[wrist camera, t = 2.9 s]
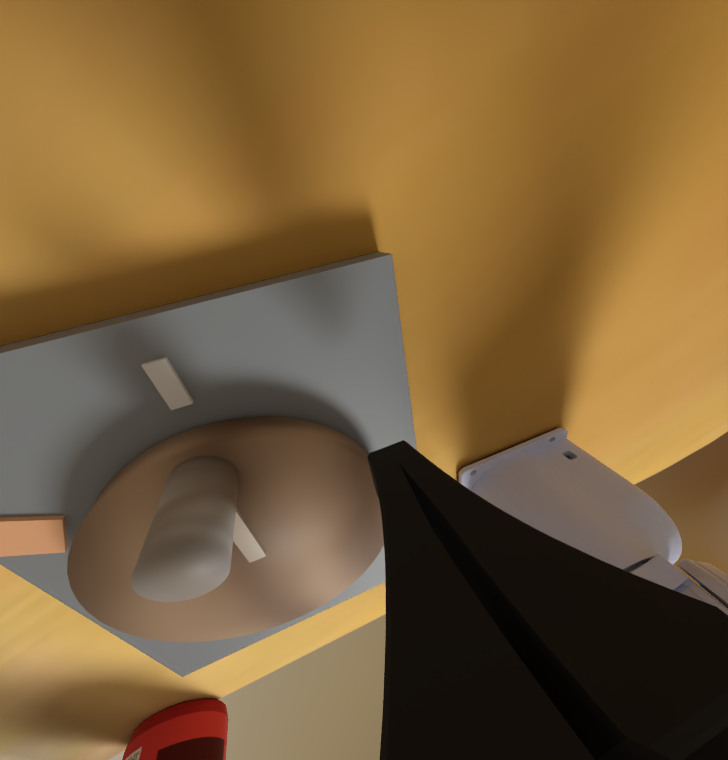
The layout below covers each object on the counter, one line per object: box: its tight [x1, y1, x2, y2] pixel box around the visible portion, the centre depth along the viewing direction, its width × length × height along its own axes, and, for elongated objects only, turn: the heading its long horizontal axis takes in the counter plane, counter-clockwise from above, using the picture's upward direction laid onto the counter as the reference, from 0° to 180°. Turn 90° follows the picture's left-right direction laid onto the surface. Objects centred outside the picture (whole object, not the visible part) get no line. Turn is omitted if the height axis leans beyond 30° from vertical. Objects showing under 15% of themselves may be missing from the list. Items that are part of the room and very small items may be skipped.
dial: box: [67, 416, 384, 642], centre depth 13 cm, size 14×14×5 cm
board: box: [0, 252, 417, 677], centre depth 16 cm, size 19×23×2 cm
